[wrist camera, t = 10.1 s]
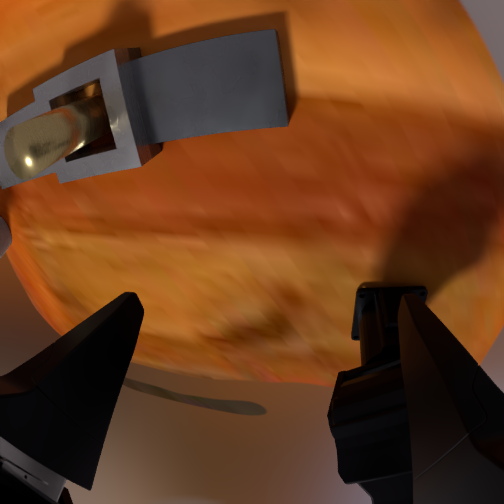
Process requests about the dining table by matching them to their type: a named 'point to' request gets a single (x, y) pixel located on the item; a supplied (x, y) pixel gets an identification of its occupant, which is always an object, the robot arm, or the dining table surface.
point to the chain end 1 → (118, 109)
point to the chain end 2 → (208, 88)
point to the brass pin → (55, 135)
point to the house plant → (4, 237)
